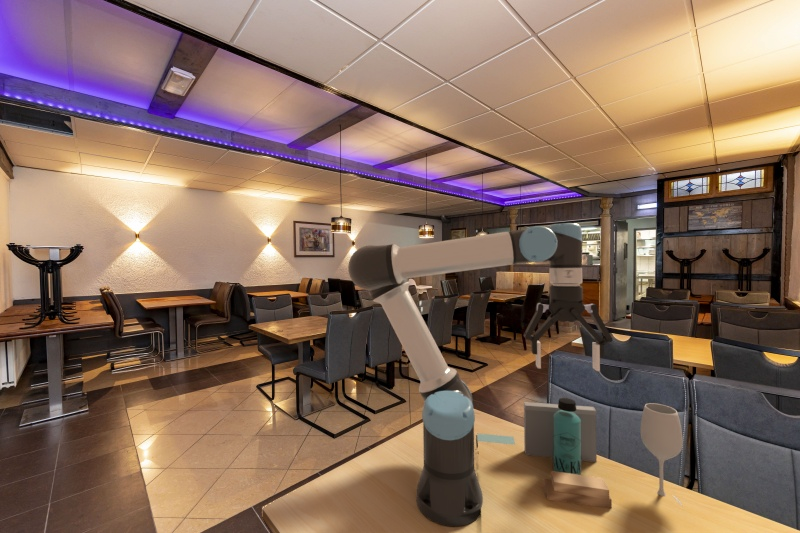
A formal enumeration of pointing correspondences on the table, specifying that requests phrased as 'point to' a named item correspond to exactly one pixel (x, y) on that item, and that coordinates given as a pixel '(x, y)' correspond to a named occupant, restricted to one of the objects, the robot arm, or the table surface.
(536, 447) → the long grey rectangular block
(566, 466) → the beverage bottle
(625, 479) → the table surface
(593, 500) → the offcut middle
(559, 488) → the offcut top
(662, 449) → the wineglass
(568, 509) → the table surface
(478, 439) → the mat
